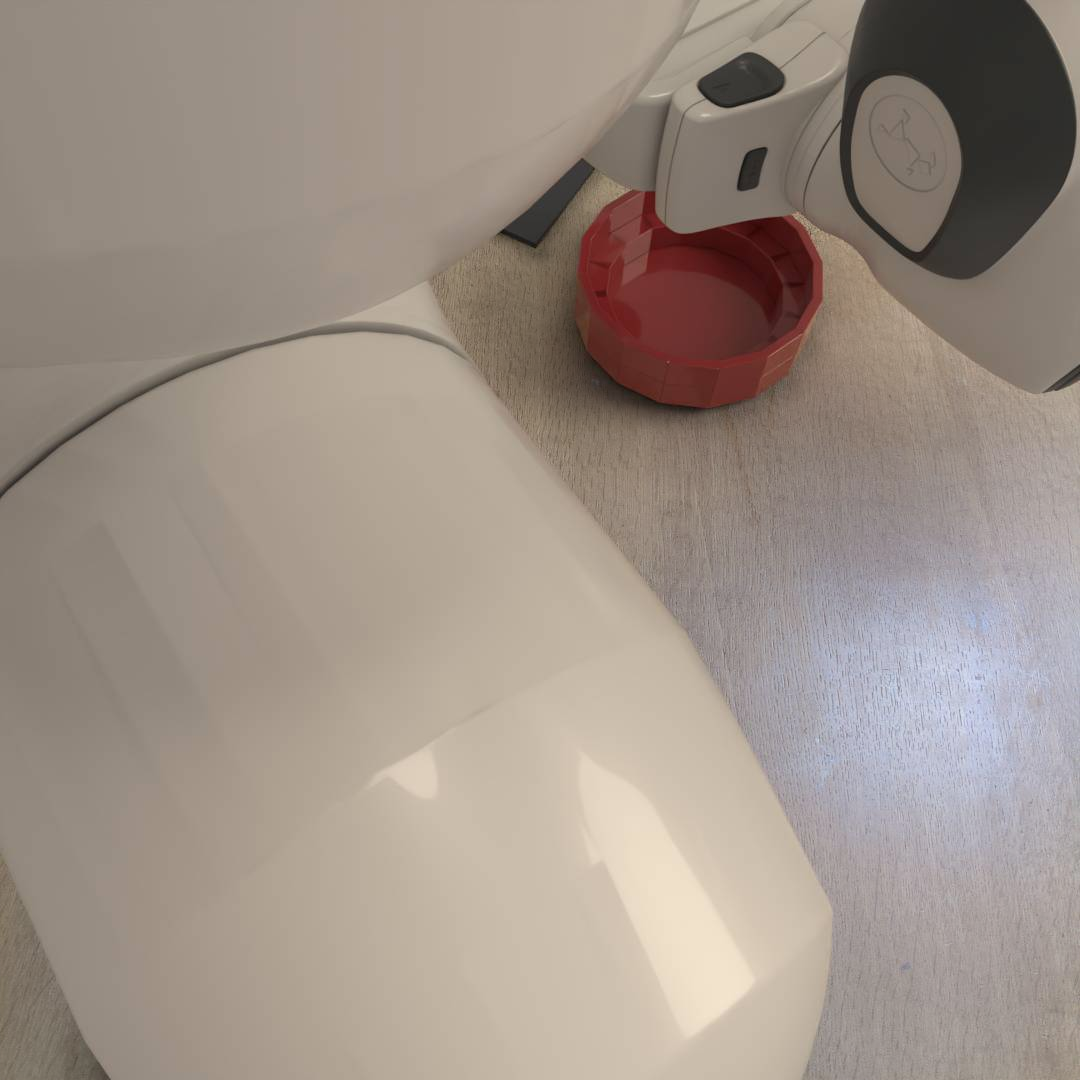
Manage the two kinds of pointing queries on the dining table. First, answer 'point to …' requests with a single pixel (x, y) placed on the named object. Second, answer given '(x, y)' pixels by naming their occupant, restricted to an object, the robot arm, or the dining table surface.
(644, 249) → the red bowl
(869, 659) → the dining table surface
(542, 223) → the mat
